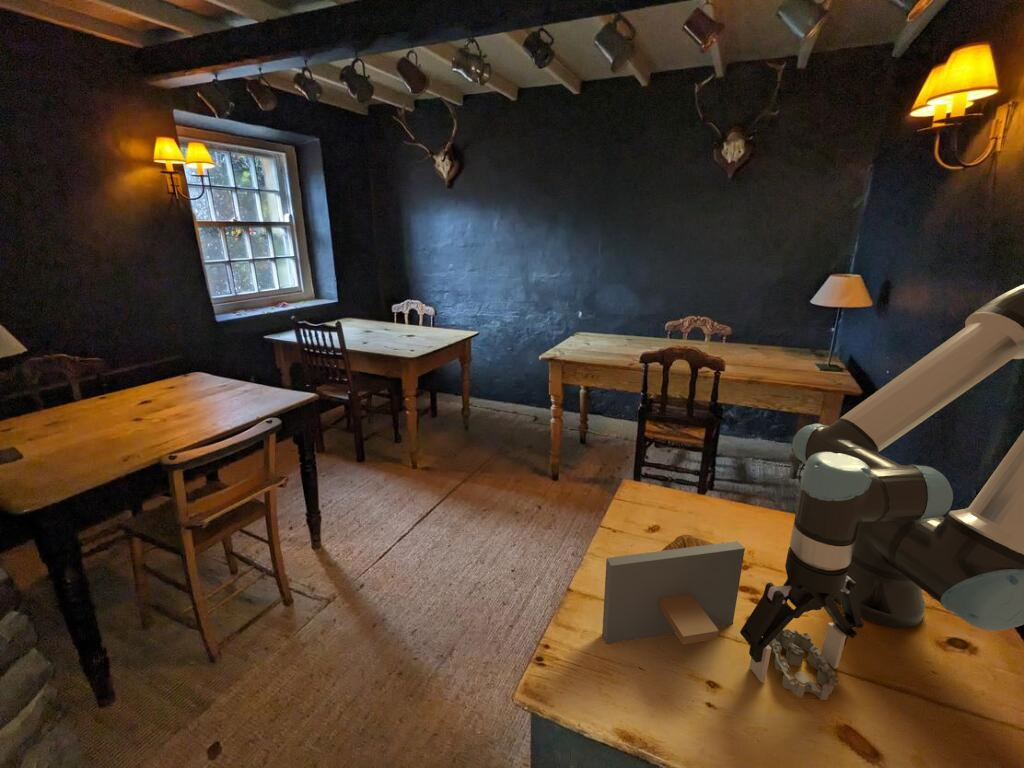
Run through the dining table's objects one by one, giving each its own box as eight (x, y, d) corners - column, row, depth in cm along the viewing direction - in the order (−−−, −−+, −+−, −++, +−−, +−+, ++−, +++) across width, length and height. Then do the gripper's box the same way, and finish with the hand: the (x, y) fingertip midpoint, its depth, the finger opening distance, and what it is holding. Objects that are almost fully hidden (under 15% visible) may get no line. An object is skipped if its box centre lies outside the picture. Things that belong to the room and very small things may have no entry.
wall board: (726, 615, 85) (737, 541, 80) (763, 661, 75) (778, 580, 71) (602, 634, 81) (606, 557, 76) (624, 685, 72) (631, 602, 67)
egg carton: (837, 706, 68) (842, 685, 67) (781, 695, 70) (785, 675, 69) (810, 647, 78) (814, 627, 77) (762, 639, 80) (765, 620, 79)
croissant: (706, 543, 106) (708, 524, 104) (724, 562, 99) (727, 542, 98) (651, 551, 103) (653, 532, 102) (667, 571, 97) (669, 551, 95)
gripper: (867, 530, 73) (840, 637, 80) (726, 548, 69) (710, 659, 76) (913, 561, 66) (880, 675, 73) (760, 583, 62) (739, 702, 69)
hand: (793, 667), depth 74 cm, fingers open, 12 cm apart
